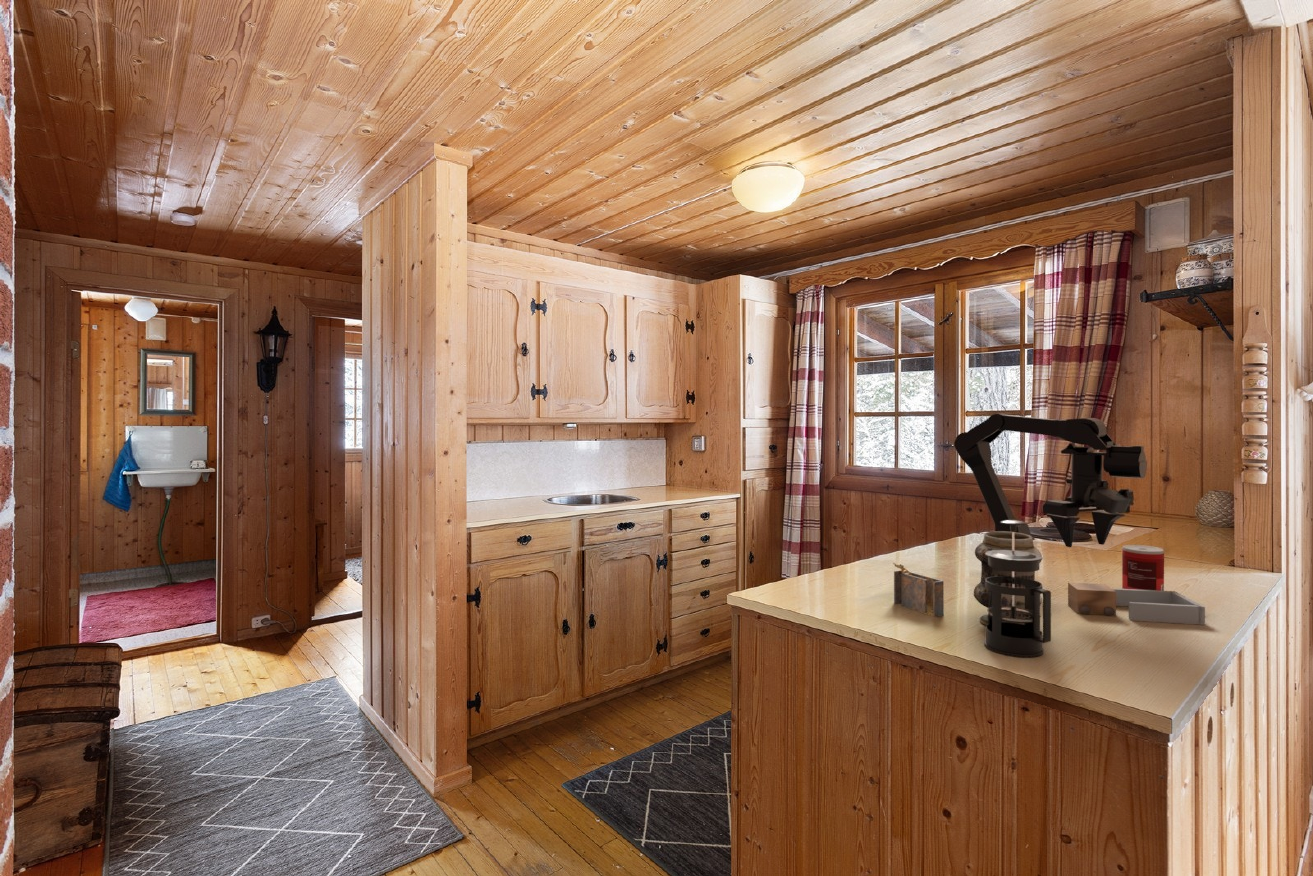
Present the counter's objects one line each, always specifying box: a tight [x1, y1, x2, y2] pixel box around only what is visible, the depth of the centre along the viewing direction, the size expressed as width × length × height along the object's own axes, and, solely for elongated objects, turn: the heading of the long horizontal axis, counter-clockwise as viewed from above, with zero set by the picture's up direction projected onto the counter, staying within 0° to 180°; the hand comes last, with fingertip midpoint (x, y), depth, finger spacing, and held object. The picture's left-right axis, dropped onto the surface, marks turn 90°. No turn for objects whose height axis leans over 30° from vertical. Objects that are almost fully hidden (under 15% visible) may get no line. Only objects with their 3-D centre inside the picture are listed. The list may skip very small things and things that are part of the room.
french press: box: [983, 519, 1052, 659], centre depth 116 cm, size 12×9×23 cm
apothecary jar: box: [973, 530, 1043, 626], centre depth 130 cm, size 12×12×18 cm
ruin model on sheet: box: [893, 562, 945, 618], centre depth 141 cm, size 11×3×10 cm, turn 24°
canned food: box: [1121, 544, 1165, 591], centre depth 148 cm, size 8×8×11 cm
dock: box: [1111, 587, 1206, 626], centre depth 135 cm, size 12×12×4 cm
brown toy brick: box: [1067, 582, 1117, 617], centre depth 138 cm, size 7×7×5 cm
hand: (1085, 545), depth 143 cm, fingers open, 9 cm apart
